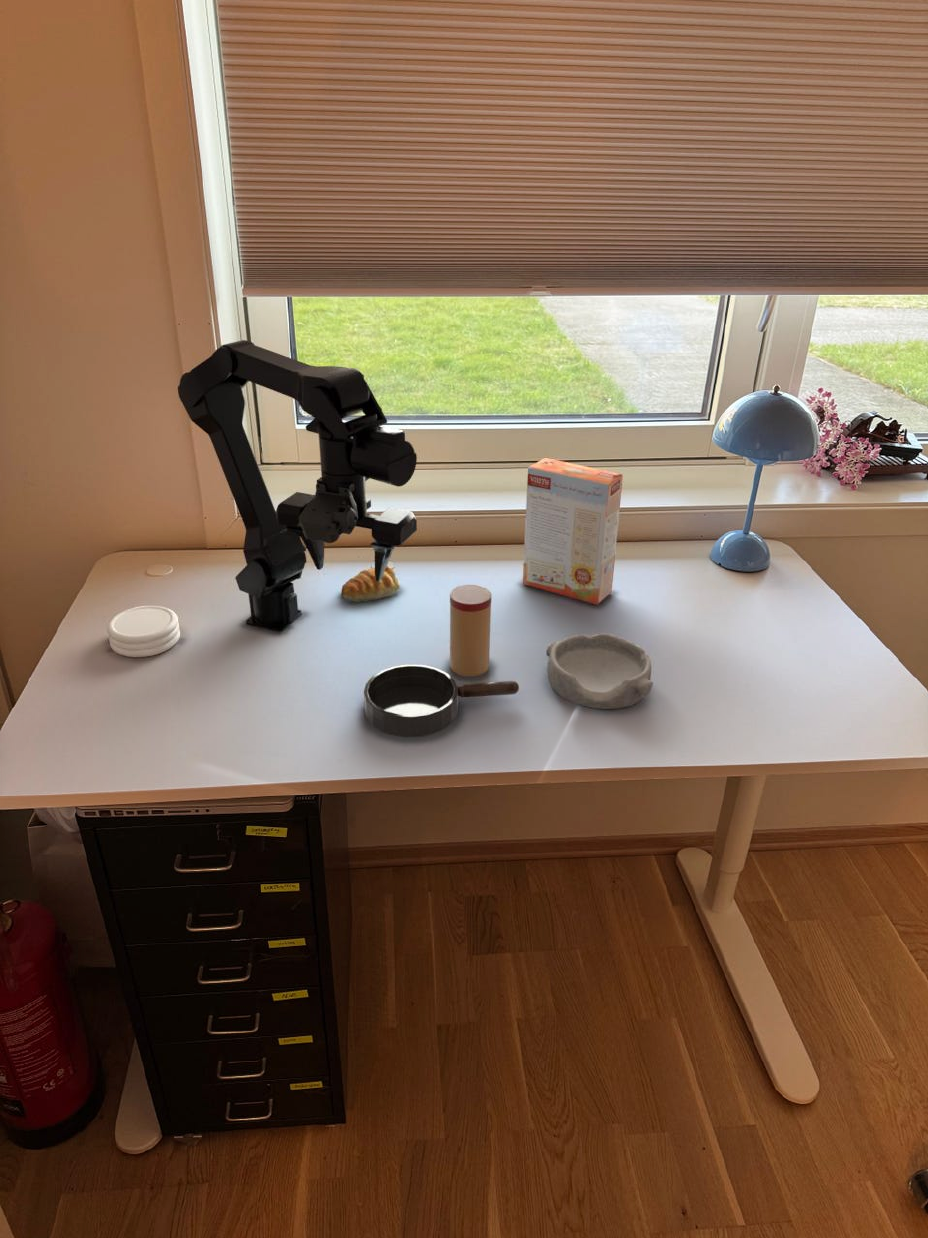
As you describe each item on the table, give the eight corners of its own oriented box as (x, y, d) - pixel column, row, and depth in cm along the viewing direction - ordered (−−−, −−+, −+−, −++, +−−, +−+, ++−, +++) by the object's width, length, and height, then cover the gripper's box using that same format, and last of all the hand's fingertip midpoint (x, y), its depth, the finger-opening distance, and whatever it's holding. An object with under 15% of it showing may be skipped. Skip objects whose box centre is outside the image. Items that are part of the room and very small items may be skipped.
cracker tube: (449, 679, 130) (449, 604, 124) (449, 657, 135) (449, 584, 129) (490, 679, 130) (492, 604, 125) (488, 657, 135) (490, 584, 129)
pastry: (355, 609, 147) (354, 588, 145) (332, 593, 152) (331, 573, 150) (403, 592, 152) (403, 571, 151) (380, 577, 157) (379, 557, 155)
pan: (349, 726, 120) (347, 703, 119) (390, 678, 130) (389, 657, 128) (435, 749, 117) (435, 726, 115) (471, 698, 126) (471, 676, 125)
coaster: (132, 621, 143) (128, 601, 142) (192, 628, 142) (189, 608, 140) (97, 654, 135) (92, 633, 133) (160, 662, 133) (157, 641, 131)
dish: (661, 710, 124) (666, 679, 122) (561, 719, 122) (563, 687, 120) (627, 653, 137) (631, 624, 134) (536, 660, 135) (537, 631, 132)
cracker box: (613, 592, 153) (625, 472, 143) (597, 607, 149) (608, 484, 138) (538, 571, 160) (544, 454, 149) (521, 584, 155) (526, 466, 145)
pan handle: (457, 701, 122) (457, 689, 122) (455, 693, 124) (455, 682, 123) (519, 696, 123) (520, 685, 123) (517, 688, 125) (517, 677, 124)
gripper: (247, 478, 118) (259, 587, 126) (379, 501, 112) (383, 613, 120) (293, 451, 127) (302, 554, 135) (417, 470, 121) (419, 577, 129)
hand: (349, 574), depth 129 cm, fingers open, 9 cm apart
